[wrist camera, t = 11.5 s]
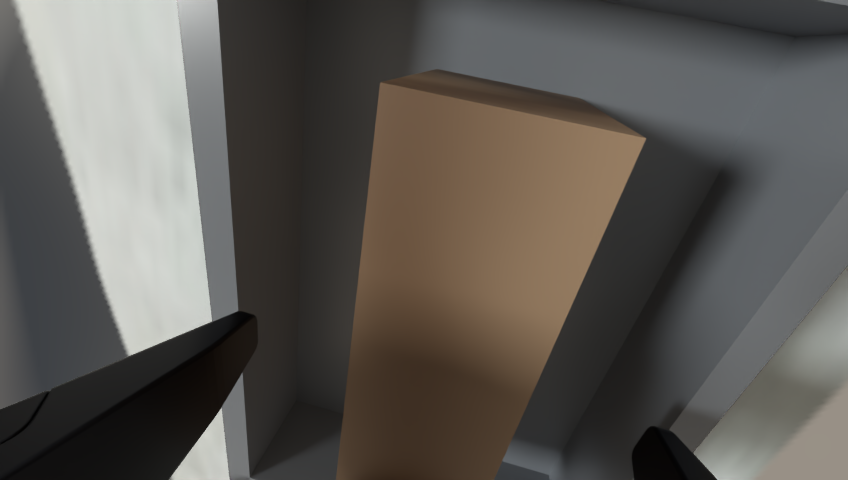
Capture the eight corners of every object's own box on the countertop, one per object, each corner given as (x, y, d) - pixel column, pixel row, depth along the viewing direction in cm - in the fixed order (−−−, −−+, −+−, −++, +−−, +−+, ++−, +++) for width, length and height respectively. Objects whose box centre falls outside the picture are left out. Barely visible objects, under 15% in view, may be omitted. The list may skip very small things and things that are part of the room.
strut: (579, 98, 9) (663, 148, 4) (468, 416, 15) (450, 597, 10) (437, 68, 10) (365, 85, 5) (381, 392, 15) (321, 554, 10)
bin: (560, 477, 16) (575, 594, 13) (285, 396, 17) (230, 483, 14) (840, 3, 8) (1095, -36, 5) (289, -93, 9) (157, -183, 6)
